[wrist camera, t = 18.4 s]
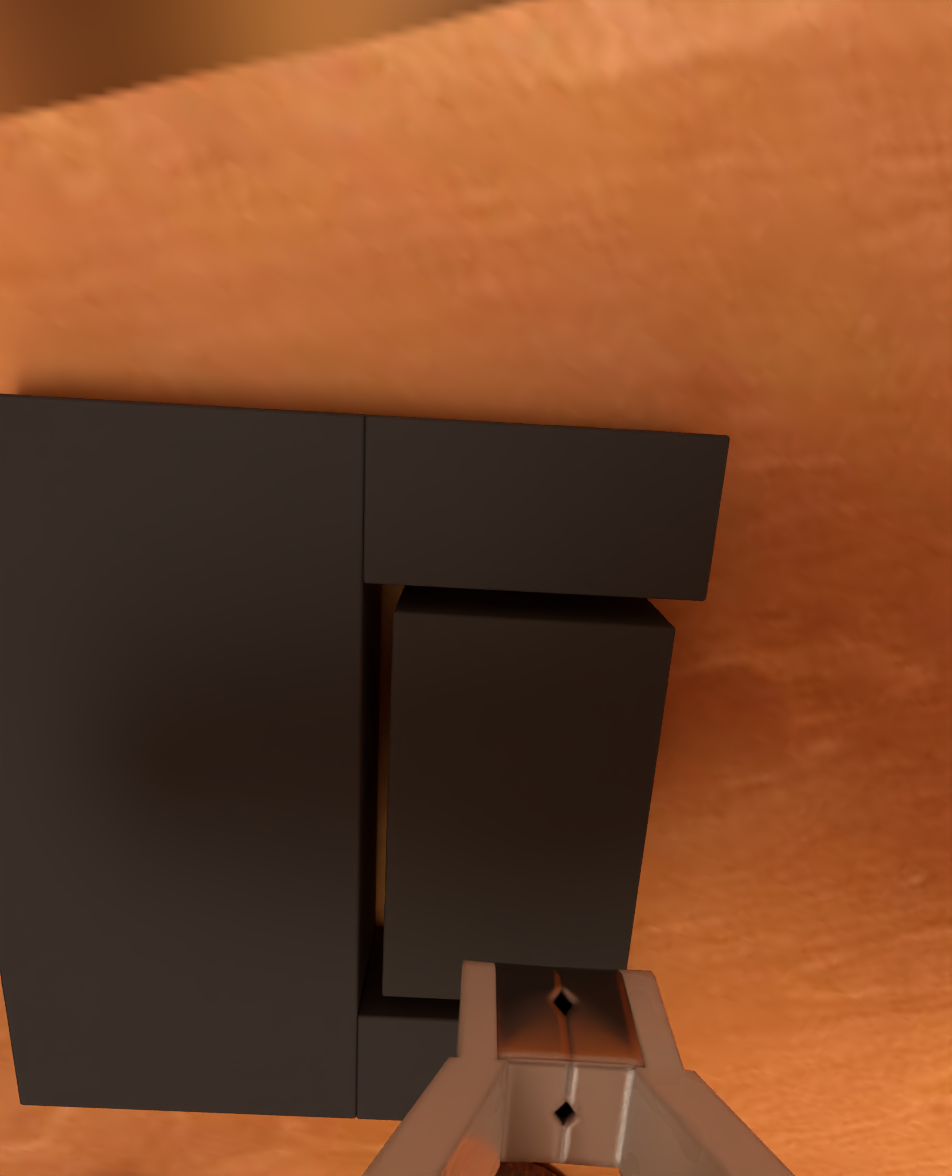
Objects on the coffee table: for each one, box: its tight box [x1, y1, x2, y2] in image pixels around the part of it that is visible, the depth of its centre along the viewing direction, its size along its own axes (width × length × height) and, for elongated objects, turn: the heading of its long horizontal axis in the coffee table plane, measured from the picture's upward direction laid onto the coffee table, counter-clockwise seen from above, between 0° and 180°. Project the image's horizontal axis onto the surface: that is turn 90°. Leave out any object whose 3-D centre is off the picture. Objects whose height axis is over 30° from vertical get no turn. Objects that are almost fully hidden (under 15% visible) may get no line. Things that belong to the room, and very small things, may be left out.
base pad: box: [0, 394, 730, 1121], centre depth 16 cm, size 18×16×3 cm
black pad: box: [382, 585, 675, 999], centre depth 16 cm, size 10×6×3 cm, turn 177°
